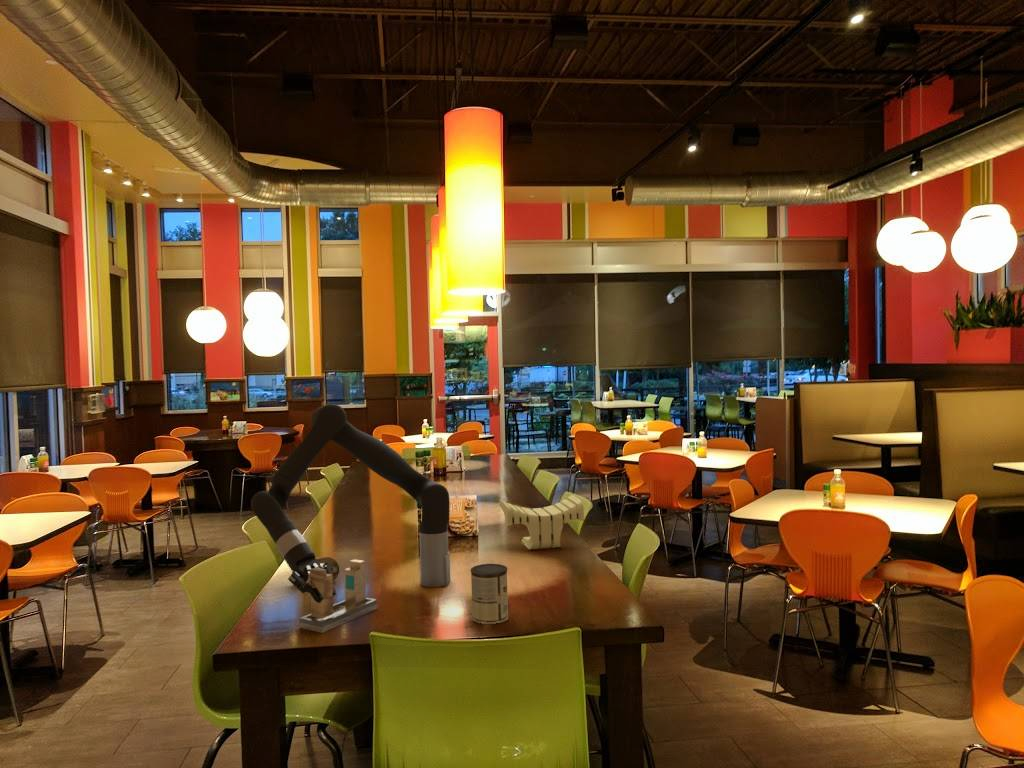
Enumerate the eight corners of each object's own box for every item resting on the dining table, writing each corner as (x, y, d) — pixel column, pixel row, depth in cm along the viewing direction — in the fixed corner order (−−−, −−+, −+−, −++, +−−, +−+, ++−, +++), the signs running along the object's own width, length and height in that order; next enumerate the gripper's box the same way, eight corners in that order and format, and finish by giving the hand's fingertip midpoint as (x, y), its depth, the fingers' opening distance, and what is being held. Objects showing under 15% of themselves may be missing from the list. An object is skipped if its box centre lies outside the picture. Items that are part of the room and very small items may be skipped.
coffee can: (472, 612, 210) (471, 564, 210) (507, 611, 211) (506, 562, 210) (471, 625, 200) (470, 574, 200) (509, 624, 200) (507, 573, 200)
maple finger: (322, 611, 206) (321, 565, 205) (333, 613, 203) (332, 567, 203) (311, 615, 202) (310, 569, 202) (322, 618, 200) (321, 571, 199)
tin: (292, 586, 239) (291, 561, 239) (292, 584, 242) (292, 558, 242) (339, 582, 243) (339, 557, 243) (339, 579, 246) (338, 554, 246)
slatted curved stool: (508, 553, 276) (507, 506, 275) (500, 543, 291) (499, 498, 291) (584, 547, 281) (583, 501, 281) (572, 538, 297) (572, 494, 297)
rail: (355, 604, 220) (354, 556, 219) (377, 608, 215) (375, 559, 215) (300, 627, 201) (298, 575, 201) (322, 633, 197) (320, 579, 196)
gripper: (281, 547, 200) (314, 597, 194) (320, 536, 212) (352, 583, 206) (269, 564, 203) (301, 614, 197) (307, 552, 215) (339, 599, 209)
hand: (327, 598), depth 202 cm, fingers closed on maple finger, 4 cm apart
